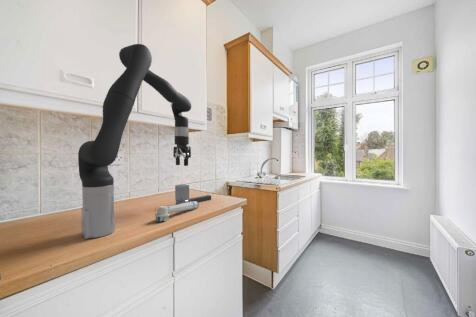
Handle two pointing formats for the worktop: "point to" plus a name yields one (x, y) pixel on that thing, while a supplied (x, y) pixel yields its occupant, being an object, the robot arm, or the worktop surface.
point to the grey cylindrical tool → (174, 210)
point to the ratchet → (195, 199)
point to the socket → (182, 192)
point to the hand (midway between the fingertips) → (181, 165)
